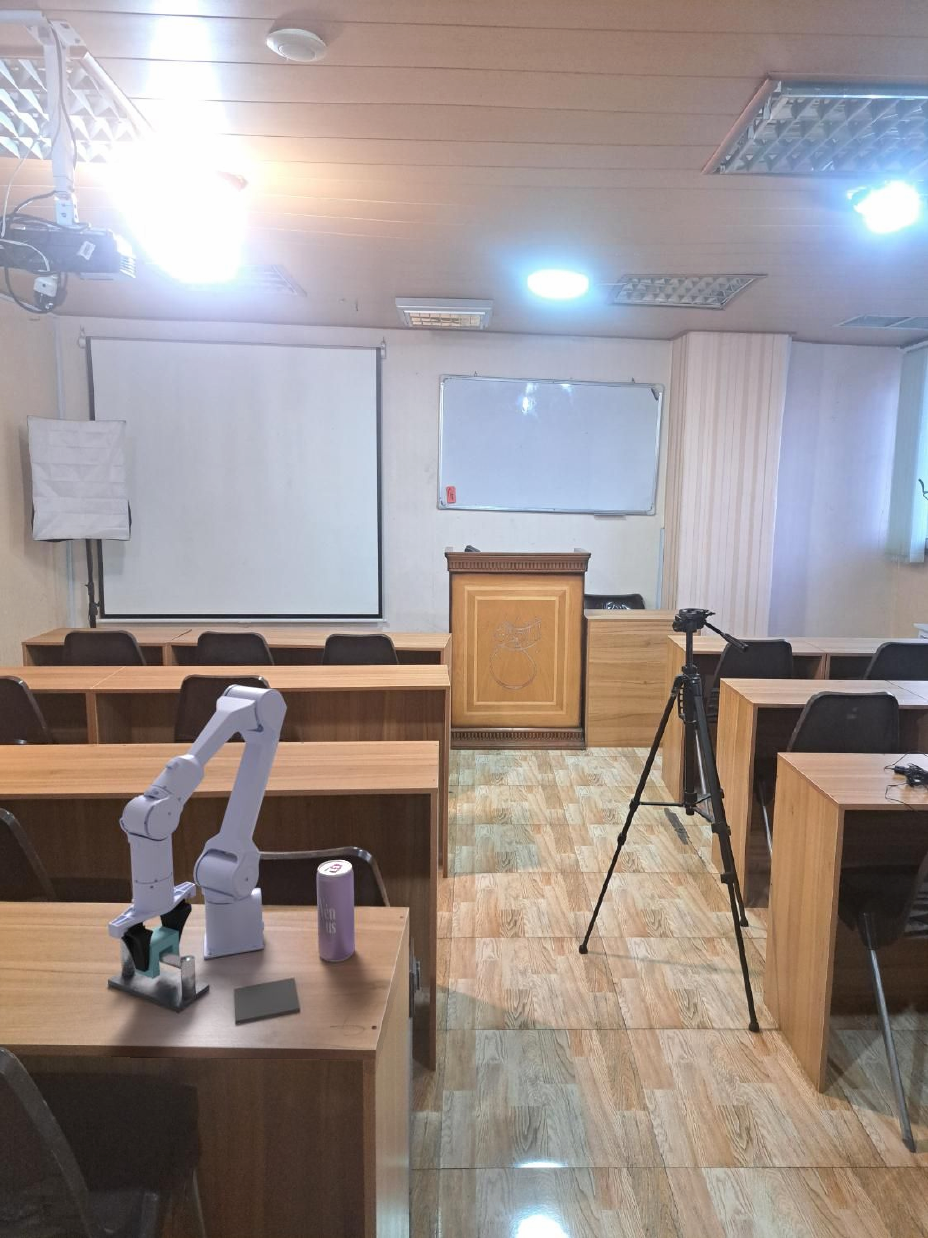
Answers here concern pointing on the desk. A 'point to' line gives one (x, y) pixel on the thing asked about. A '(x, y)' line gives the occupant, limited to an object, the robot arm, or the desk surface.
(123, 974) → the stand
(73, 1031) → the desk surface
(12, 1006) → the desk surface
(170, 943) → the teal block
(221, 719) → the robot arm
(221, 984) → the desk surface
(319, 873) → the beverage can
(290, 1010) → the mat
